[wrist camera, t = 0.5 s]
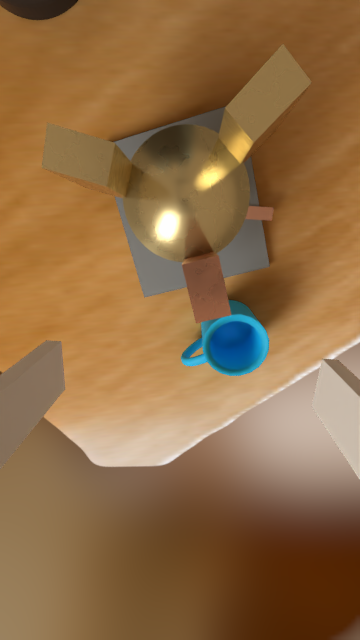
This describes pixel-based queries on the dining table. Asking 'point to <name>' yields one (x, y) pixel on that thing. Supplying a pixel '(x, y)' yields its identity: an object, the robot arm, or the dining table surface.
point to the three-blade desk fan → (187, 178)
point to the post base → (234, 258)
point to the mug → (231, 342)
